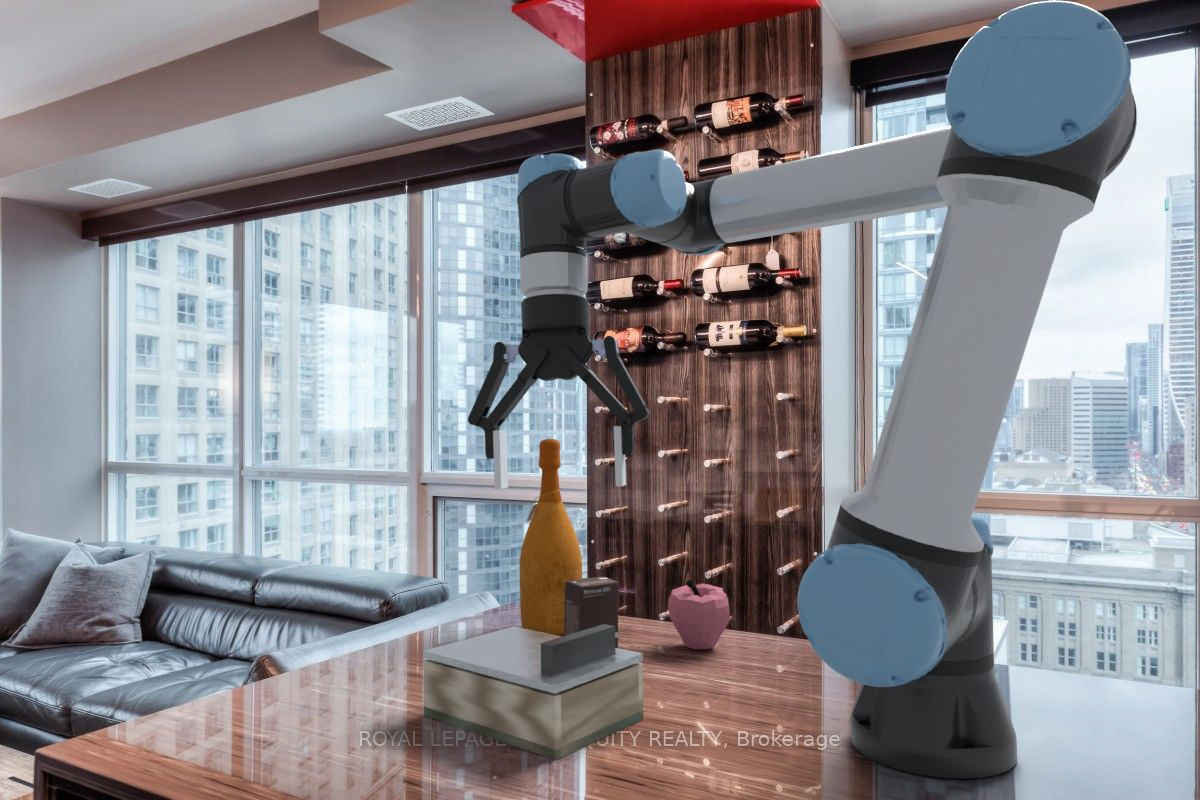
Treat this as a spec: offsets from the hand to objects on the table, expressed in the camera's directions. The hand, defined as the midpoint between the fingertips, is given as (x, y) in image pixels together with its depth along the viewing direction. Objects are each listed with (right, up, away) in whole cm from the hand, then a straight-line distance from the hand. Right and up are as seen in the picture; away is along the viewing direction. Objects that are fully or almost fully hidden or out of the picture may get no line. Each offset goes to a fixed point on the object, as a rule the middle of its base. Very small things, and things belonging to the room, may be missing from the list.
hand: (560, 487), depth 91 cm
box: (+3, -26, +15) cm, 30 cm away
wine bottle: (-3, -27, +38) cm, 46 cm away
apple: (+19, -26, +27) cm, 42 cm away
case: (-3, -25, -1) cm, 25 cm away
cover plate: (-3, -19, -1) cm, 19 cm away
